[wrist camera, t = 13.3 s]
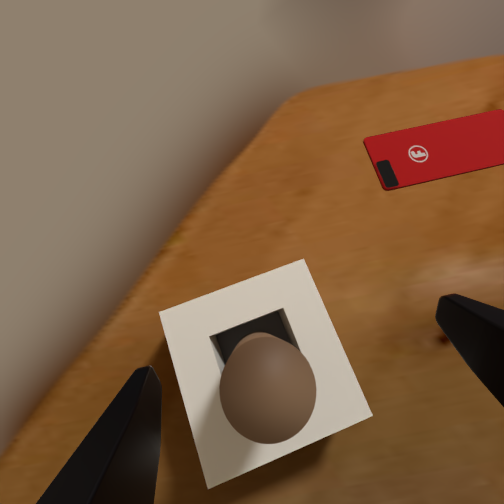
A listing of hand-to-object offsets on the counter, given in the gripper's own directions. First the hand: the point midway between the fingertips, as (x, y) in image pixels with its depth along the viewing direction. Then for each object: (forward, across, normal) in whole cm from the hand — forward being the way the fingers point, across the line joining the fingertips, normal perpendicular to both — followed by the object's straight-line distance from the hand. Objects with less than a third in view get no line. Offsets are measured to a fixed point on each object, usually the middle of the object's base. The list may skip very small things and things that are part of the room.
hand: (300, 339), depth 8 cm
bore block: (+9, +1, +10) cm, 13 cm away
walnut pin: (+8, +1, +10) cm, 13 cm away
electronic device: (+19, -20, +1) cm, 28 cm away
